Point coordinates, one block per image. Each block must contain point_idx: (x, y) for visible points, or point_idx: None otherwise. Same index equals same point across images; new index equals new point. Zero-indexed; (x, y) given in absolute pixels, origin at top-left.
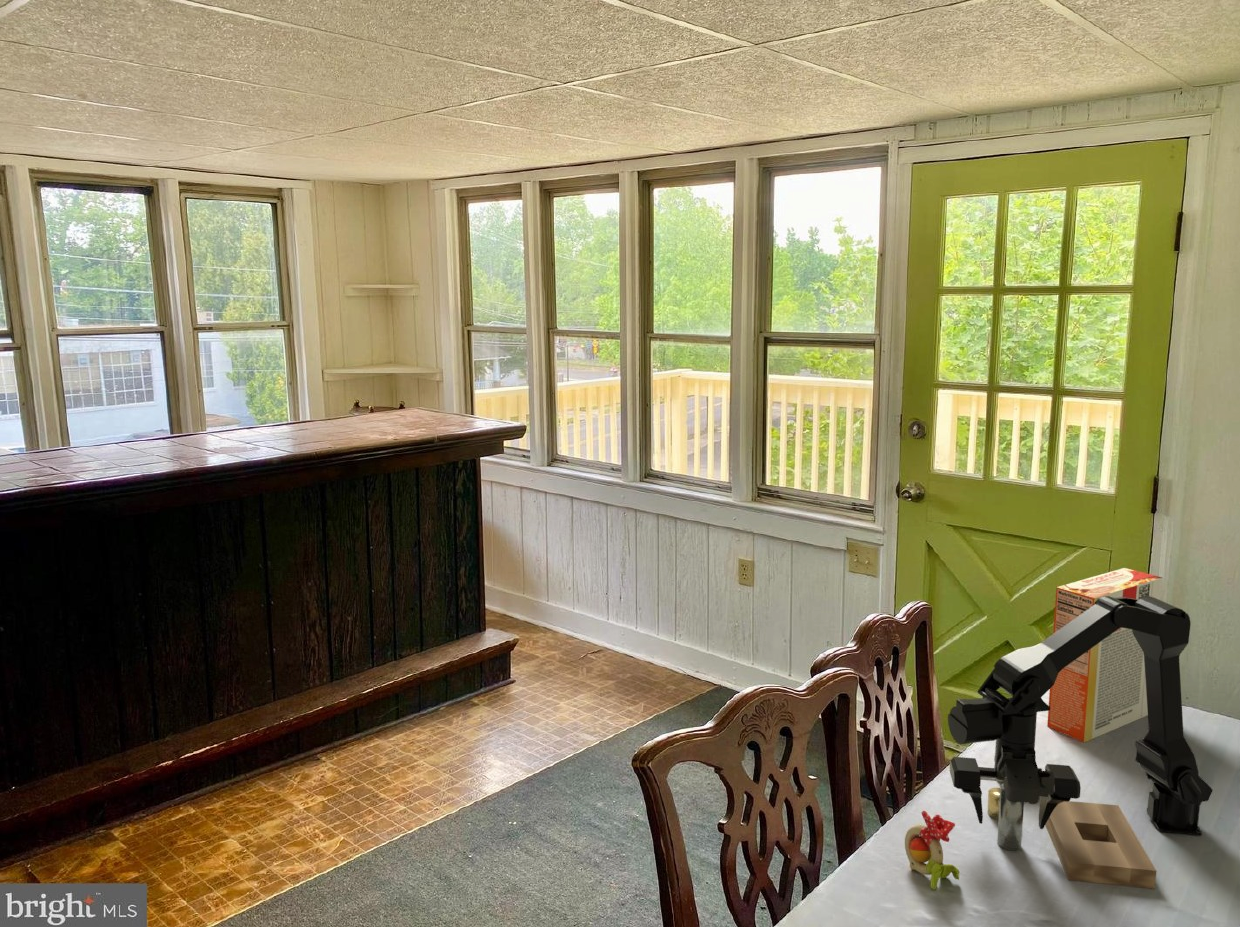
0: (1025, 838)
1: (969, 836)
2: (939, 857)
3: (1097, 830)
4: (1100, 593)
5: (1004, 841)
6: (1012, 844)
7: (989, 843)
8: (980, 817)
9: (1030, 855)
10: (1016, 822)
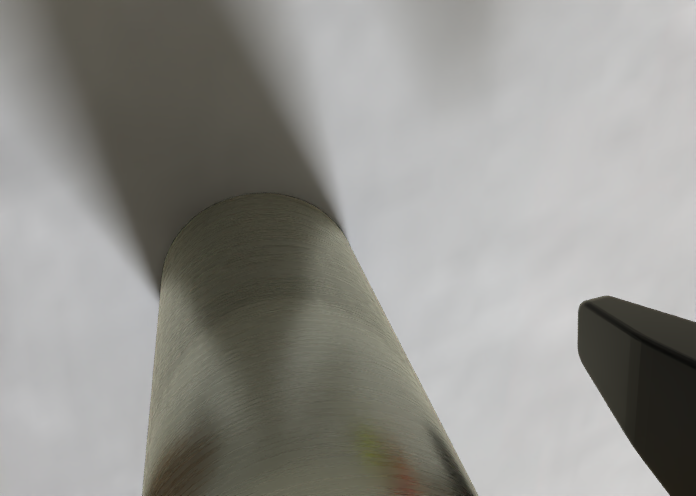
0: (138, 418)
1: (552, 273)
2: None
3: None
4: None
5: (315, 232)
6: (238, 226)
7: (414, 241)
8: (658, 325)
9: (68, 198)
10: (225, 382)
